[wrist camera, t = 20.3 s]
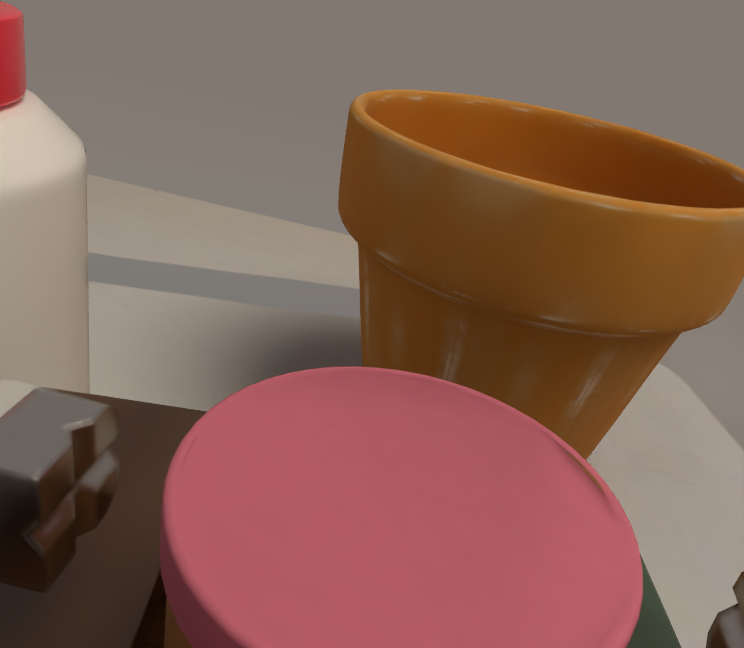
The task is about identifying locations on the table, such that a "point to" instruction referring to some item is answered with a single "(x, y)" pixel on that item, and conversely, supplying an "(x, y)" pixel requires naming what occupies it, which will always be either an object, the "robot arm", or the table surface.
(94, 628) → the cabinet
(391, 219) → the flower pot
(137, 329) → the table surface
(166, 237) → the table surface
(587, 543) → the pink-rimmed cylinder
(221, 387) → the table surface
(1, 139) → the pill bottle
